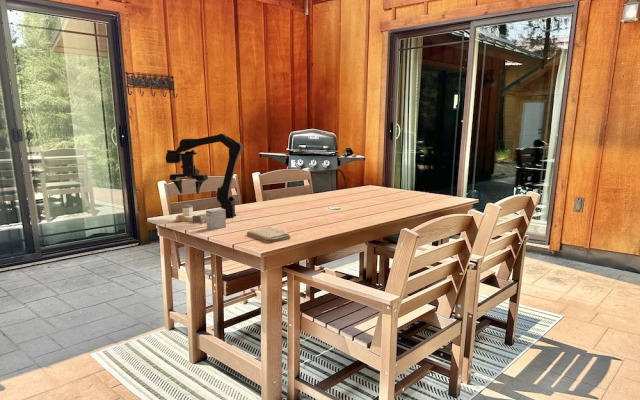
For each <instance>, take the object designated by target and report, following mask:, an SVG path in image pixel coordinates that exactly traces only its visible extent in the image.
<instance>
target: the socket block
mask: <svg viewBox="0 0 640 400" xmlns="http://www.w3.org/2000/svg"><path fill="white" fill-rule="evenodd" d="M175 221H177V222H180V223H182V222H183V223H184V222H192V223H205V222H206V212H205V213H204V212H202V213H201V212H193V215H192V216H186V215H183V213H181V214H178V215H177V216H175Z"/></svg>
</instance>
